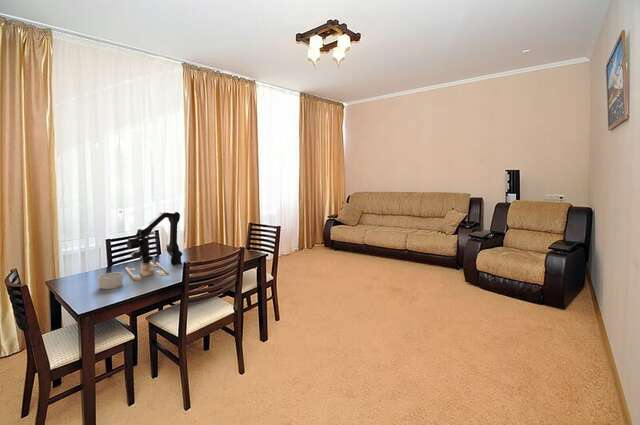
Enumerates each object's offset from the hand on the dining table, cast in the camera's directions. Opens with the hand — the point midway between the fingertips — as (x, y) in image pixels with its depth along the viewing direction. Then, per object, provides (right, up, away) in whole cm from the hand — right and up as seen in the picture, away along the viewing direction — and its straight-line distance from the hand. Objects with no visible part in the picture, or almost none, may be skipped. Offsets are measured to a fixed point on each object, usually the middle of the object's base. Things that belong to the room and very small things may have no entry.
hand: (145, 268), depth 232 cm
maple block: (+4, -3, -4) cm, 7 cm away
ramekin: (-6, -7, -29) cm, 30 cm away
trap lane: (+1, -3, 0) cm, 3 cm away
